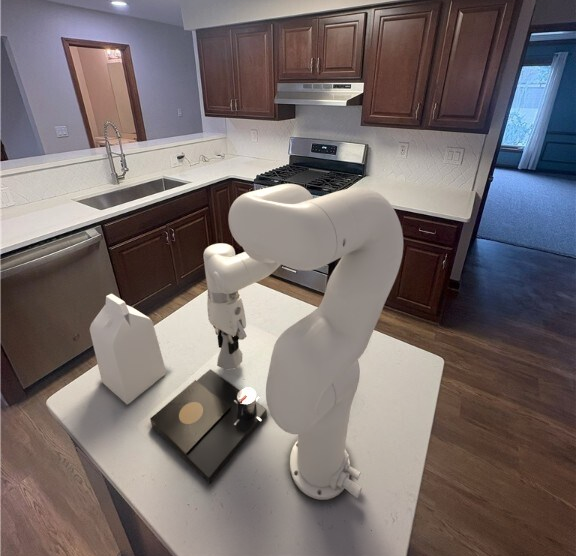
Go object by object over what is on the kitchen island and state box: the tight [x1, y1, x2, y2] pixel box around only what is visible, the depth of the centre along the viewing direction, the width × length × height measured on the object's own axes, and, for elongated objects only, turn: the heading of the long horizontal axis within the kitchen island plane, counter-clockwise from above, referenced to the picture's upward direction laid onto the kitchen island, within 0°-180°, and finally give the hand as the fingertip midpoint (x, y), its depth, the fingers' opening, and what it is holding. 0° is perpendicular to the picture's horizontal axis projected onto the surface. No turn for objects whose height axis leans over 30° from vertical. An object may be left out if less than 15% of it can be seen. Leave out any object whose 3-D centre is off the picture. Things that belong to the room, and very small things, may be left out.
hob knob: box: [237, 387, 257, 419], centre depth 73 cm, size 4×4×5 cm
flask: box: [216, 331, 243, 370], centre depth 86 cm, size 7×7×10 cm
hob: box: [150, 368, 268, 484], centre depth 74 cm, size 21×19×2 cm
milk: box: [89, 293, 167, 406], centre depth 80 cm, size 12×12×26 cm
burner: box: [149, 379, 231, 455], centre depth 73 cm, size 13×13×1 cm
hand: (228, 347), depth 86 cm, fingers closed on flask, 3 cm apart
